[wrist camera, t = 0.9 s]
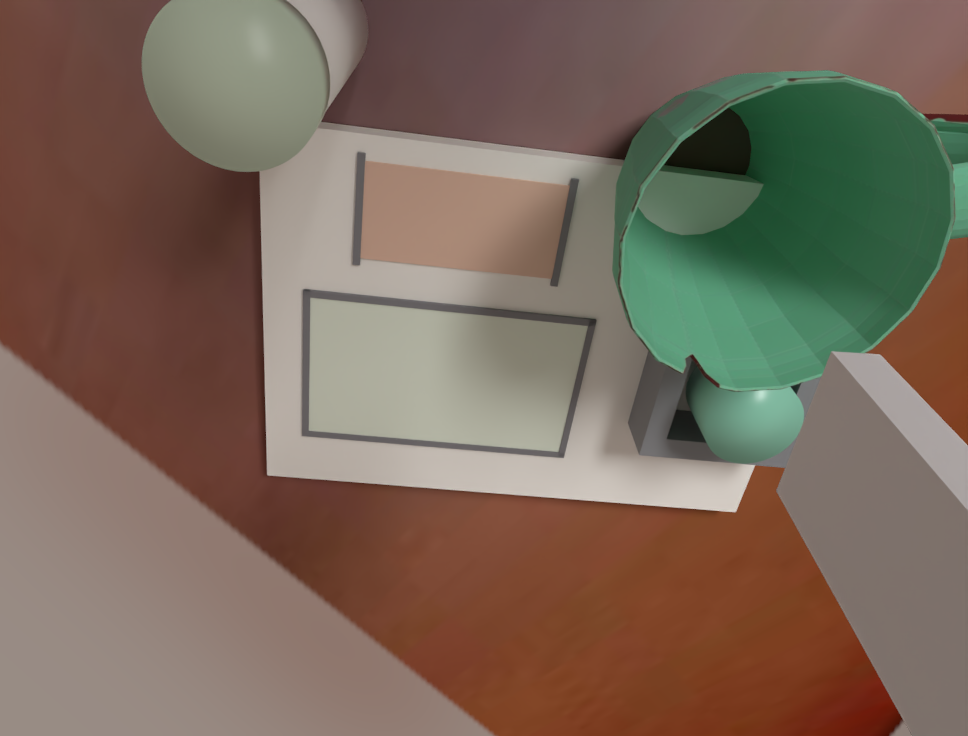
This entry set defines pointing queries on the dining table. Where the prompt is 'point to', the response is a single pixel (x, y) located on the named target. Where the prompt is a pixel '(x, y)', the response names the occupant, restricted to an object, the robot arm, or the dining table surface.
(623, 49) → the dining table surface
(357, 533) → the dining table surface
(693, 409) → the button
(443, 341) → the board
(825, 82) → the mug
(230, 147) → the marker
